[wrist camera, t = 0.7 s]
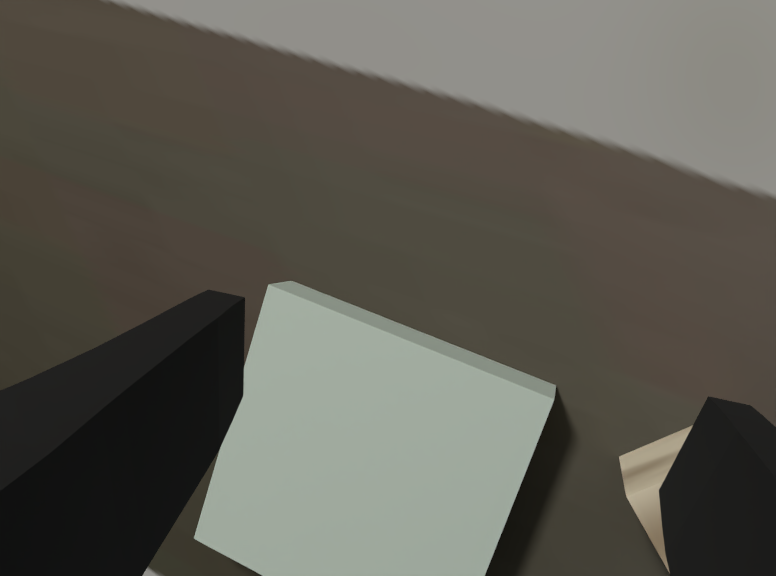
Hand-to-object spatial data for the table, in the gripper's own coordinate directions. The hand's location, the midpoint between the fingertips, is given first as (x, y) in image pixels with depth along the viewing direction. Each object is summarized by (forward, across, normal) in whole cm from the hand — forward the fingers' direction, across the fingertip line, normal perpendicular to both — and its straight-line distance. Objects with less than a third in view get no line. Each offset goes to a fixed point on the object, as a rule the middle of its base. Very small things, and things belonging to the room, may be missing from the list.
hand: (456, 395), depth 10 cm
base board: (+15, +2, +17) cm, 23 cm away
